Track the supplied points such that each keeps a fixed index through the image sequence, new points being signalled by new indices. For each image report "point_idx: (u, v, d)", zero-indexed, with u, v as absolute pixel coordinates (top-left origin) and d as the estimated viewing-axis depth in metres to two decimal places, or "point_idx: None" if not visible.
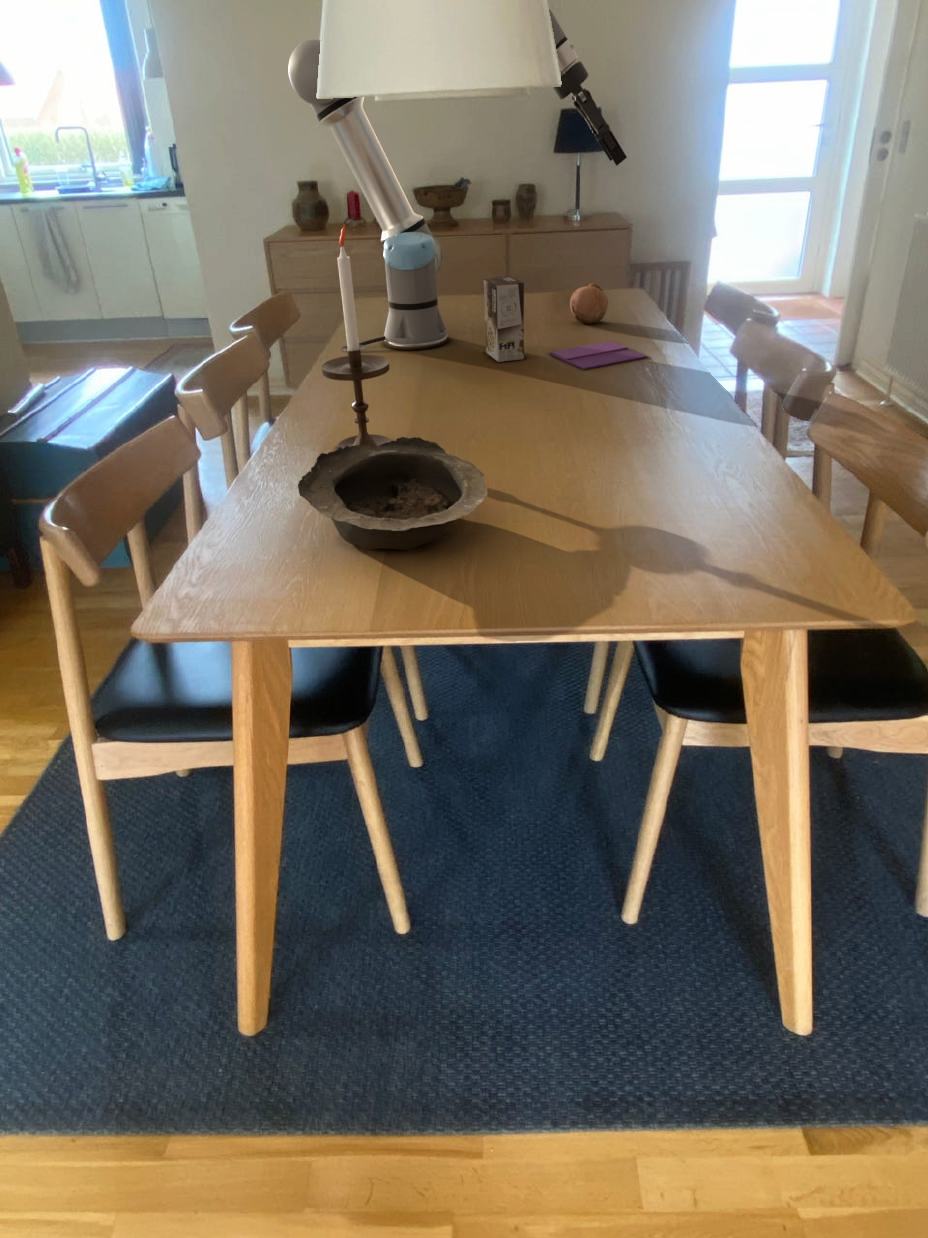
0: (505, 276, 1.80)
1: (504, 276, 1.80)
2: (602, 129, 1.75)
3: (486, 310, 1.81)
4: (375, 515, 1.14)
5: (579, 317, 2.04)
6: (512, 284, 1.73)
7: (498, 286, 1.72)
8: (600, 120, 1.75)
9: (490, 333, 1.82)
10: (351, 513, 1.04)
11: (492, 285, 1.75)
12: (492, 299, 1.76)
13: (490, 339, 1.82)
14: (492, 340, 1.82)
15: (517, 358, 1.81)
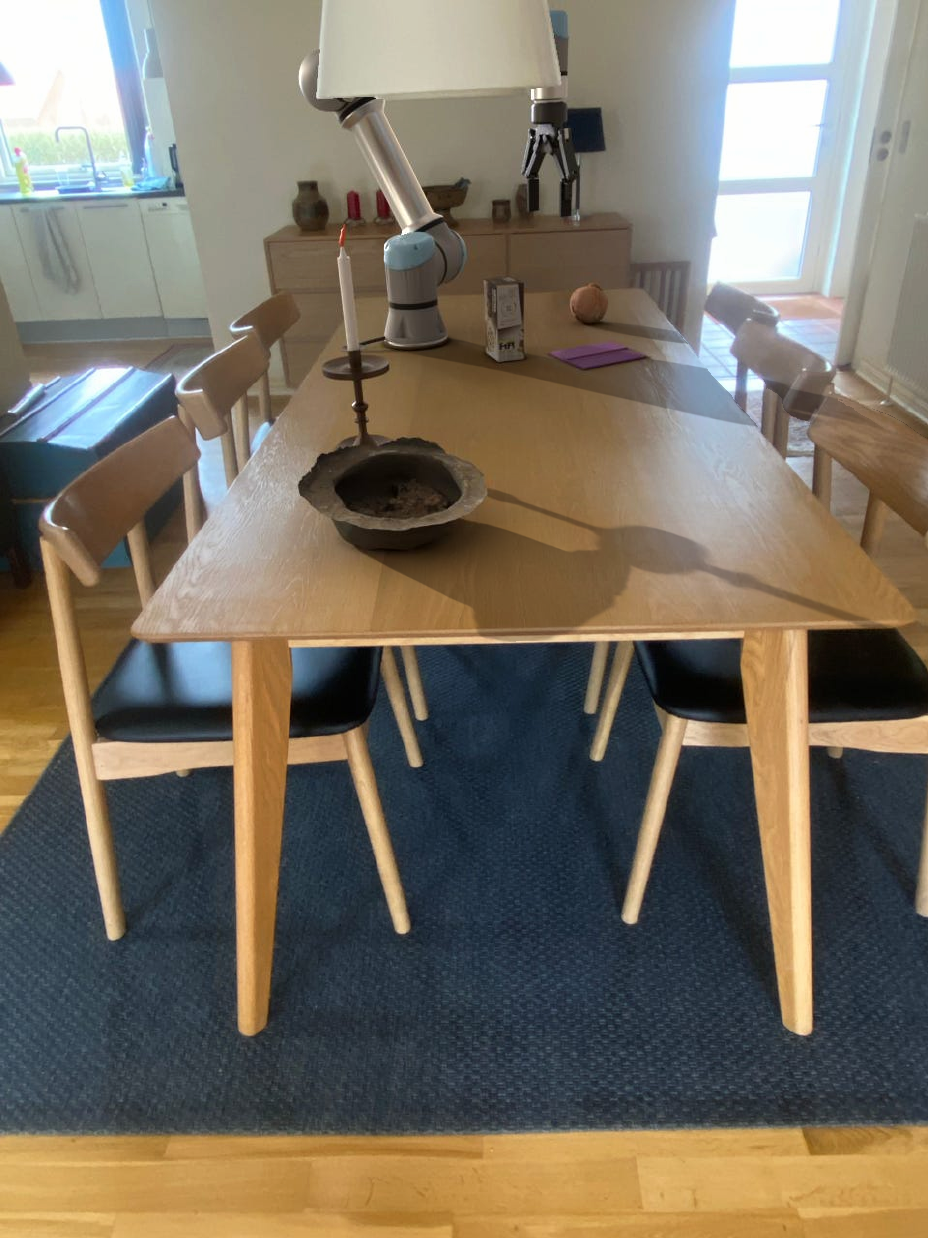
0: (505, 276, 1.80)
1: (504, 276, 1.80)
2: (573, 175, 1.71)
3: (486, 310, 1.81)
4: (375, 515, 1.14)
5: (579, 317, 2.04)
6: (512, 284, 1.73)
7: (498, 286, 1.72)
8: (574, 166, 1.71)
9: (490, 333, 1.82)
10: (351, 513, 1.04)
11: (492, 285, 1.75)
12: (492, 299, 1.76)
13: (490, 339, 1.82)
14: (492, 340, 1.82)
15: (517, 358, 1.81)
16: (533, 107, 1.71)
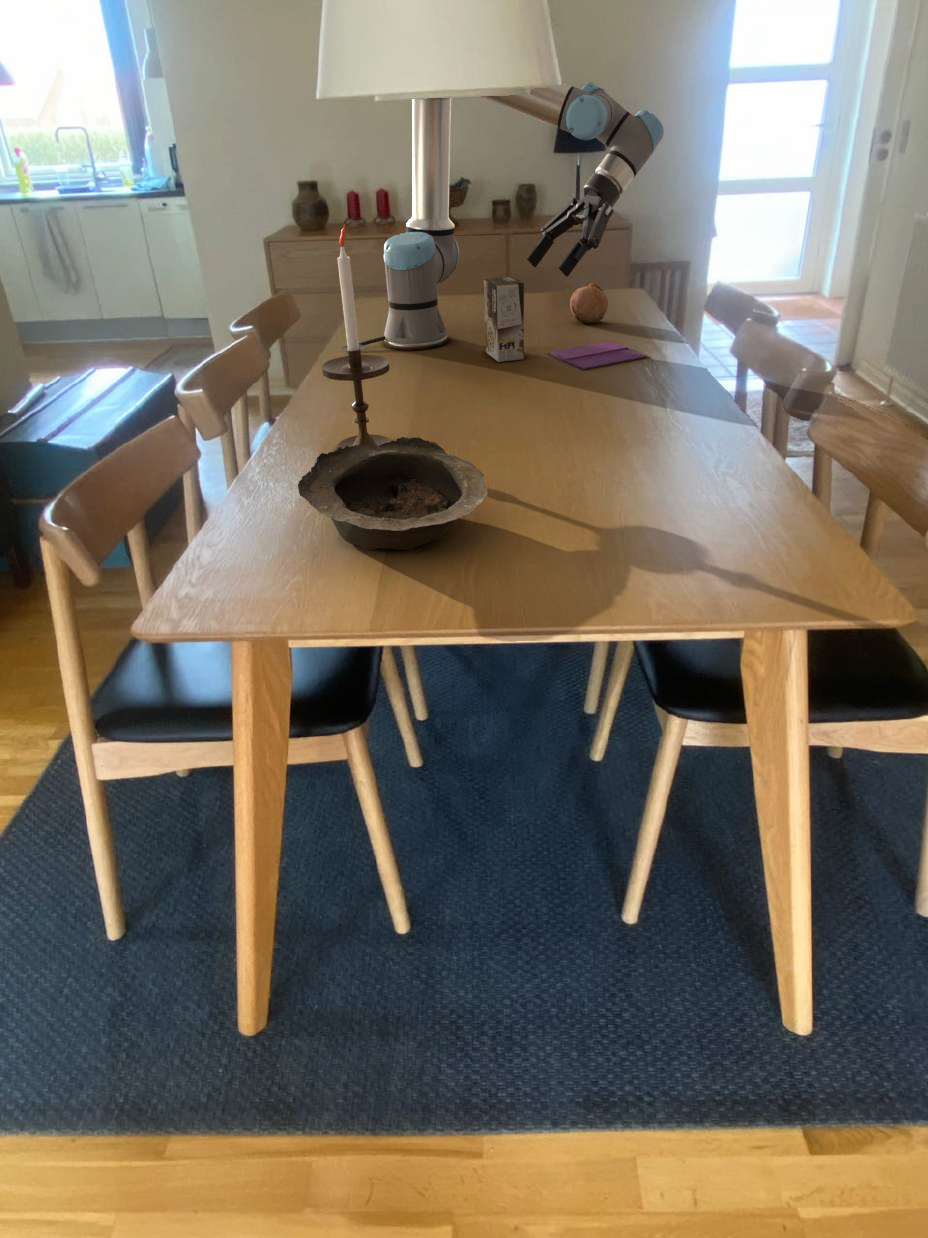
0: (505, 276, 1.80)
1: (504, 276, 1.80)
2: (594, 241, 1.70)
3: (486, 310, 1.81)
4: (375, 515, 1.14)
5: (579, 317, 2.04)
6: (512, 284, 1.73)
7: (498, 286, 1.72)
8: (599, 236, 1.71)
9: (490, 333, 1.82)
10: (351, 513, 1.04)
11: (492, 285, 1.75)
12: (492, 299, 1.76)
13: (490, 339, 1.82)
14: (492, 340, 1.82)
15: (517, 358, 1.81)
16: (594, 174, 1.74)
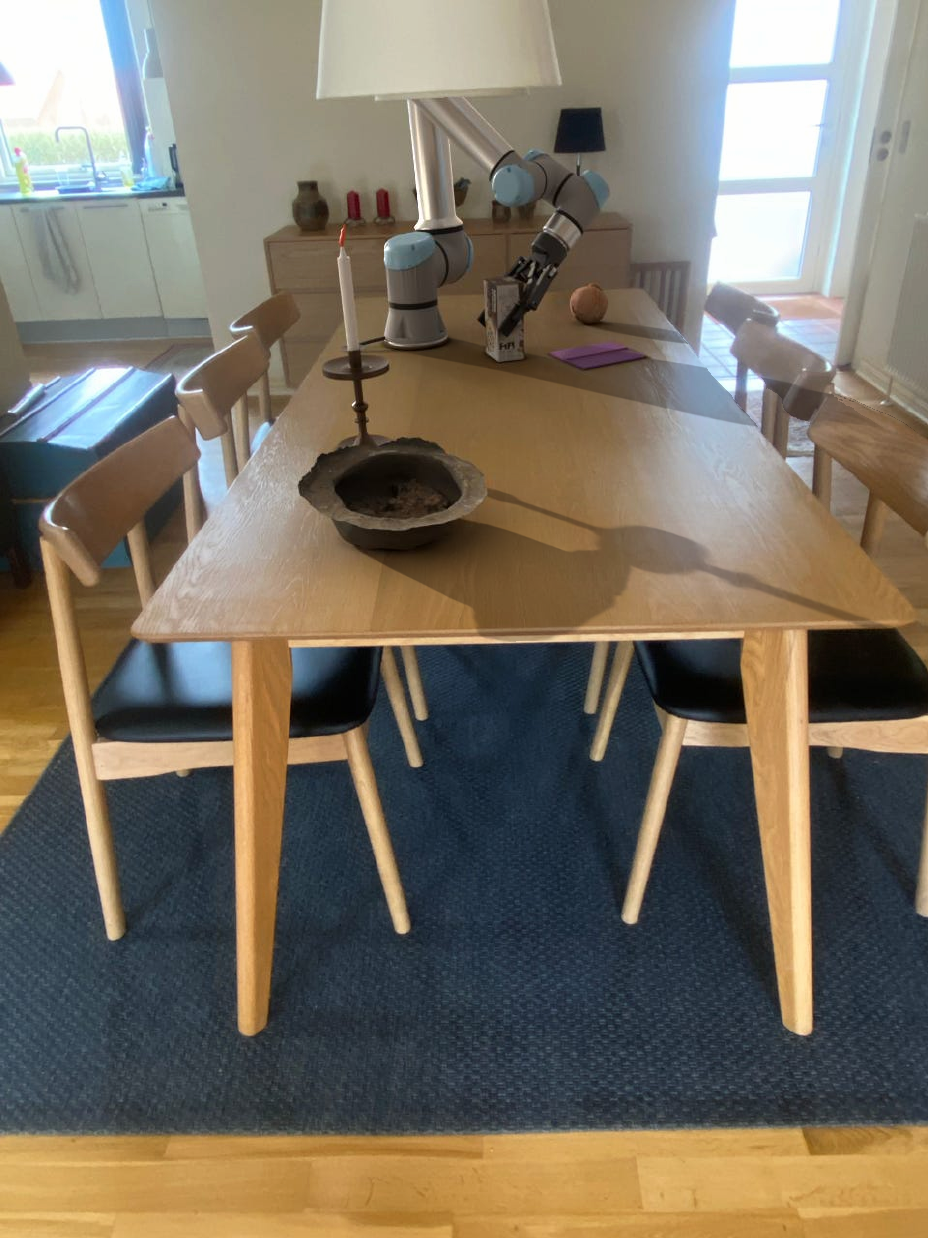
0: (505, 276, 1.80)
1: (504, 276, 1.80)
2: (532, 304, 1.73)
3: (486, 310, 1.81)
4: (375, 515, 1.14)
5: (579, 317, 2.04)
6: (512, 284, 1.73)
7: (498, 286, 1.72)
8: (538, 299, 1.73)
9: (490, 333, 1.82)
10: (351, 513, 1.04)
11: (492, 285, 1.75)
12: (492, 299, 1.76)
13: (490, 339, 1.83)
14: (492, 340, 1.82)
15: (517, 358, 1.81)
16: (541, 233, 1.75)
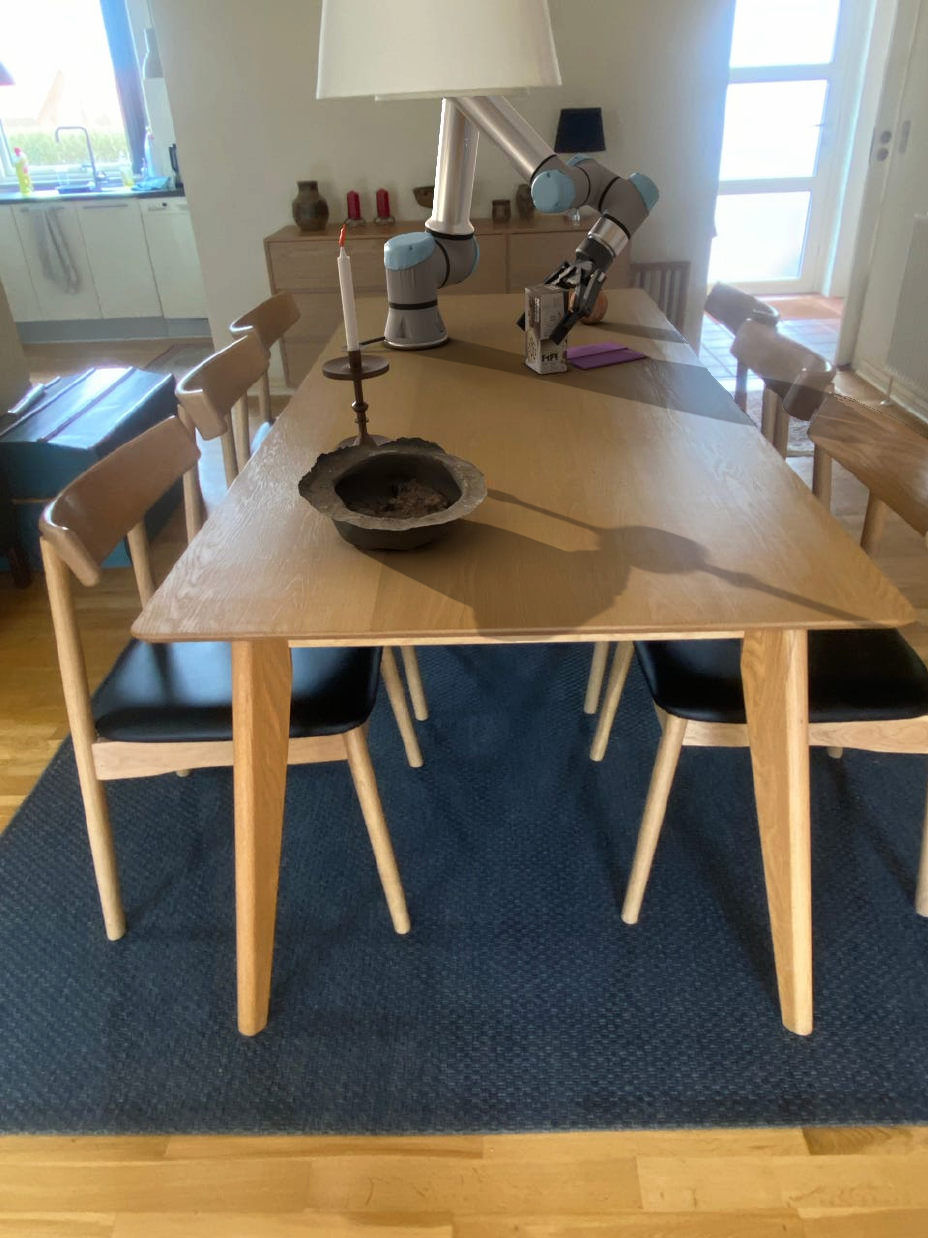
0: (547, 284, 1.71)
1: (546, 284, 1.71)
2: (586, 310, 1.62)
3: (527, 320, 1.72)
4: (375, 515, 1.14)
5: None
6: (557, 293, 1.64)
7: (542, 295, 1.63)
8: (591, 305, 1.63)
9: (531, 343, 1.73)
10: (351, 513, 1.04)
11: (535, 294, 1.66)
12: (534, 308, 1.67)
13: (531, 350, 1.74)
14: (533, 351, 1.73)
15: (560, 370, 1.73)
16: (586, 238, 1.66)
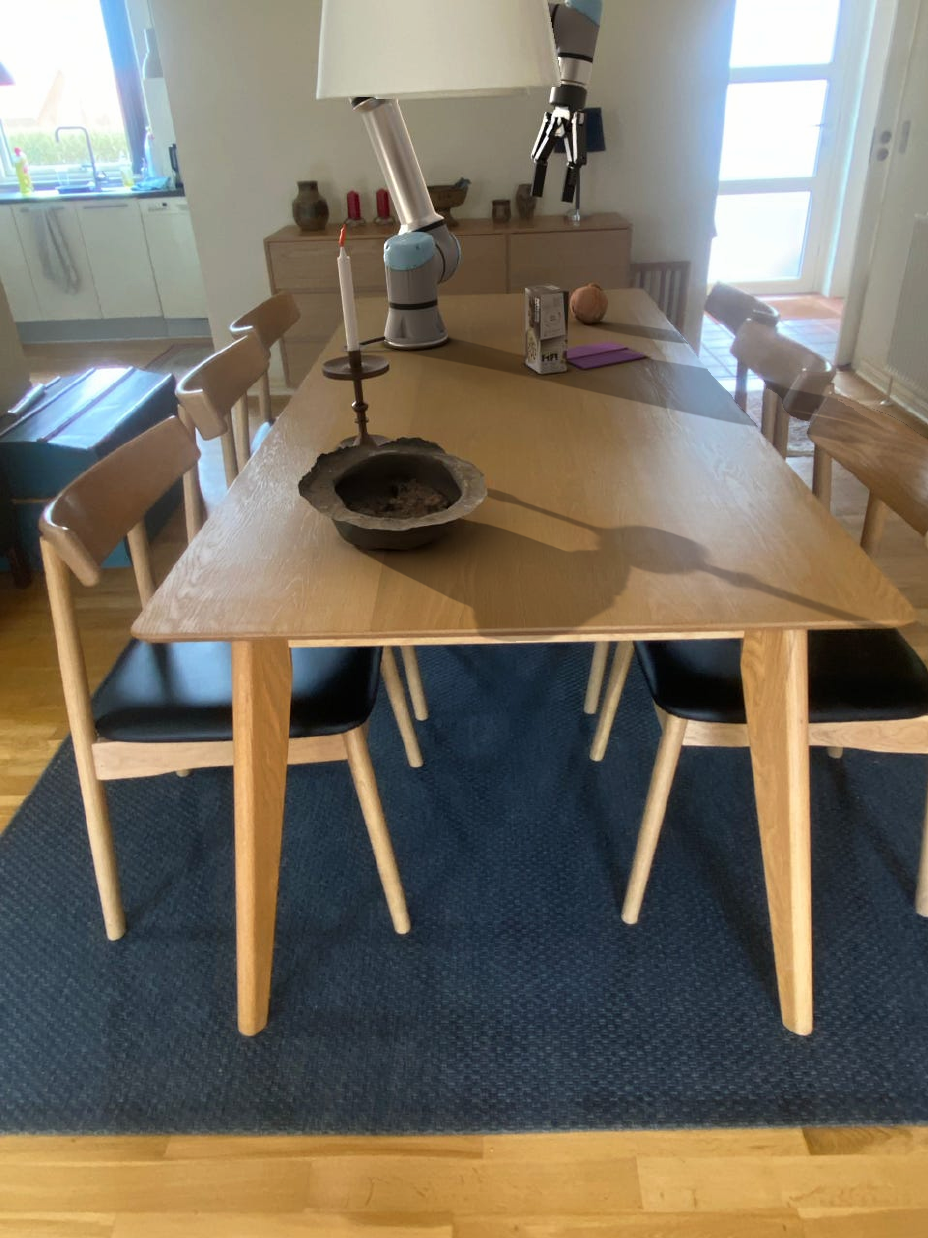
0: (547, 284, 1.71)
1: (546, 284, 1.71)
2: (581, 160, 1.69)
3: (527, 320, 1.72)
4: (375, 515, 1.14)
5: (579, 317, 2.04)
6: (557, 293, 1.64)
7: (542, 295, 1.63)
8: (583, 151, 1.69)
9: (531, 343, 1.73)
10: (351, 513, 1.04)
11: (535, 294, 1.66)
12: (534, 308, 1.67)
13: (531, 350, 1.74)
14: (533, 351, 1.73)
15: (560, 370, 1.73)
16: (553, 87, 1.69)
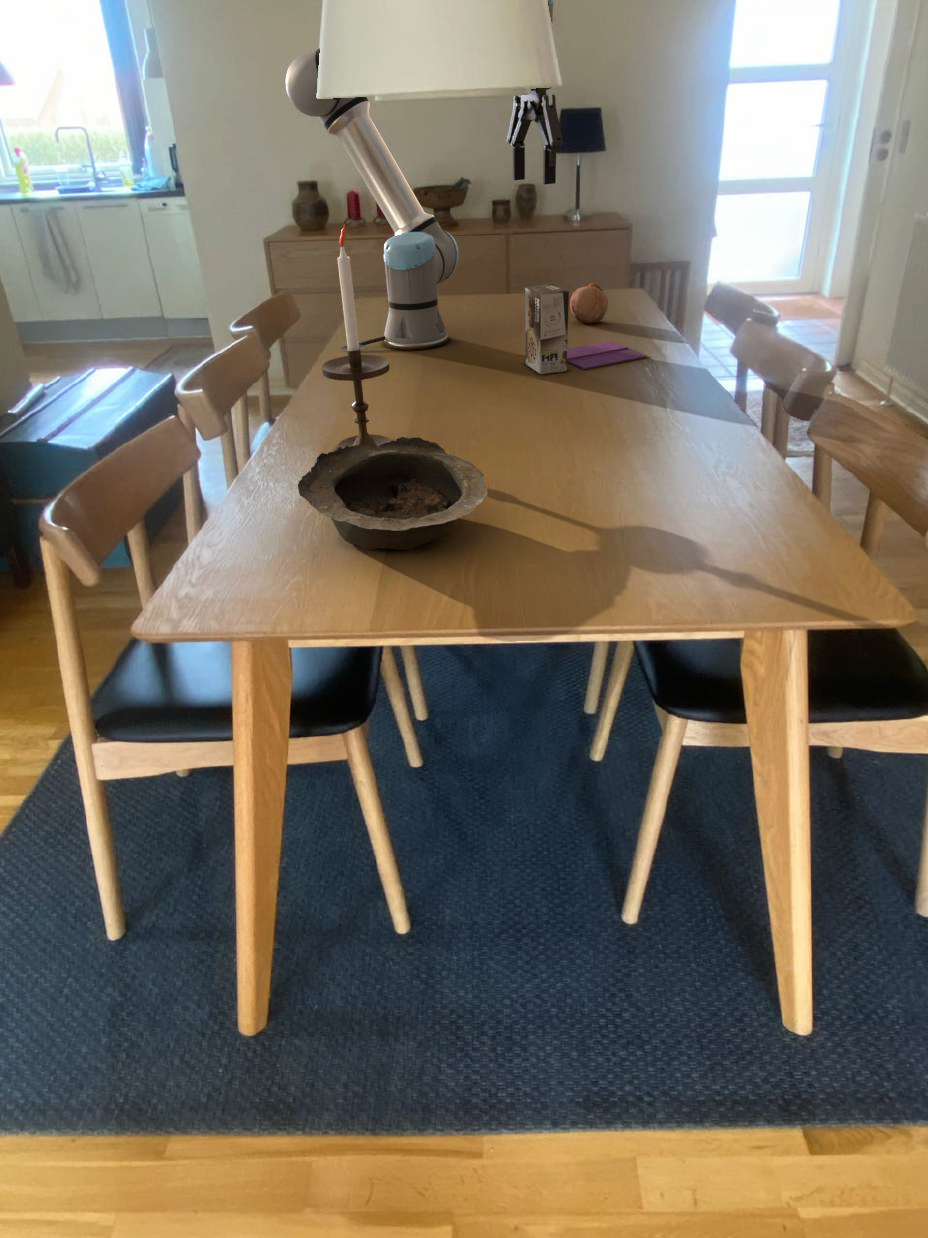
0: (547, 284, 1.71)
1: (546, 284, 1.71)
2: (557, 141, 1.72)
3: (527, 320, 1.72)
4: (375, 515, 1.14)
5: (579, 317, 2.04)
6: (557, 293, 1.64)
7: (542, 295, 1.63)
8: (558, 132, 1.72)
9: (531, 343, 1.73)
10: (351, 513, 1.04)
11: (535, 294, 1.66)
12: (534, 308, 1.67)
13: (531, 350, 1.74)
14: (533, 351, 1.73)
15: (560, 370, 1.73)
16: None
